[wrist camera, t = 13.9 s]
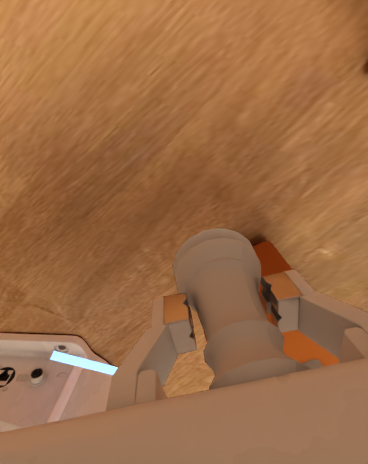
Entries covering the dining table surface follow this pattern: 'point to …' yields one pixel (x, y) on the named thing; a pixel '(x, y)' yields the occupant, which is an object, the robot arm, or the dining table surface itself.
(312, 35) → the dining table surface
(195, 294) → the rook chess piece
